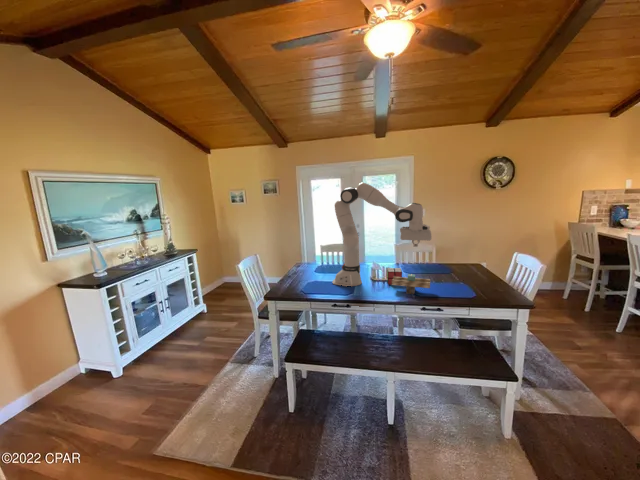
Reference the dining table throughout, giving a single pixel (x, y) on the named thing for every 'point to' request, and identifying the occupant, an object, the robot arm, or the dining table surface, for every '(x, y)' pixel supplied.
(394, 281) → the beam
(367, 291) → the dining table surface
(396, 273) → the puzzle cube
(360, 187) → the robot arm
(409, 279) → the rider
